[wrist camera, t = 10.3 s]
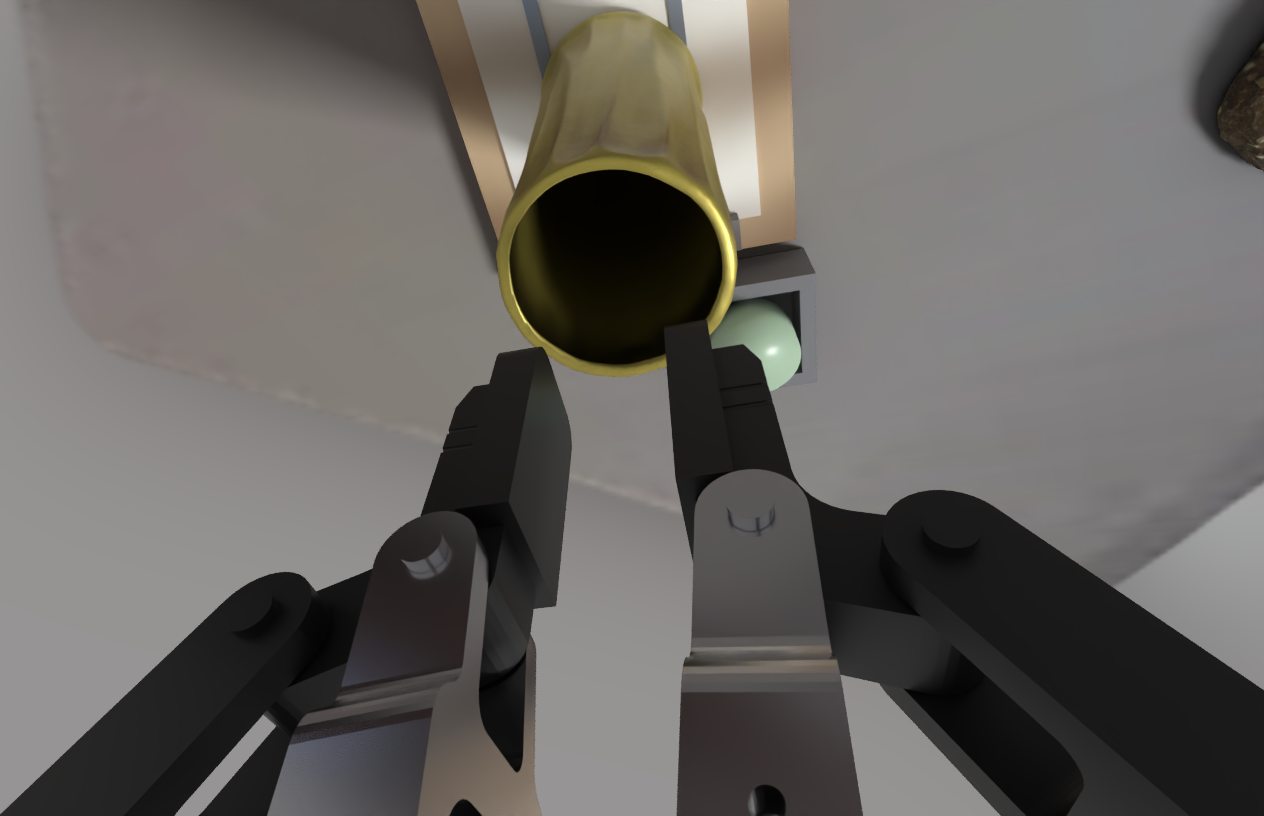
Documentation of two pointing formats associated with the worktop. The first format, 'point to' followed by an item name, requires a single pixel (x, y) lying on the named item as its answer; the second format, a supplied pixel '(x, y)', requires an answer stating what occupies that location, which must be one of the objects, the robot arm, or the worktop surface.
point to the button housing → (785, 299)
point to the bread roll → (1245, 111)
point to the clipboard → (725, 59)
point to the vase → (617, 203)
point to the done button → (762, 337)
